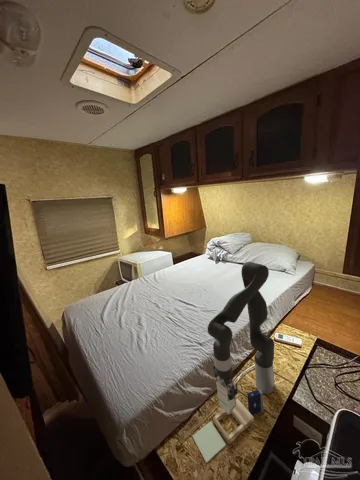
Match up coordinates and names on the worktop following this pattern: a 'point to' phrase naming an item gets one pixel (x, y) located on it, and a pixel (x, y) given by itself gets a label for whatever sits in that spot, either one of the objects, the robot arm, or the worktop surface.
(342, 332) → the worktop surface
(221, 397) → the syrup box
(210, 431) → the sage mat
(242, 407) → the wooden frame
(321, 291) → the worktop surface
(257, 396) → the cassette player
